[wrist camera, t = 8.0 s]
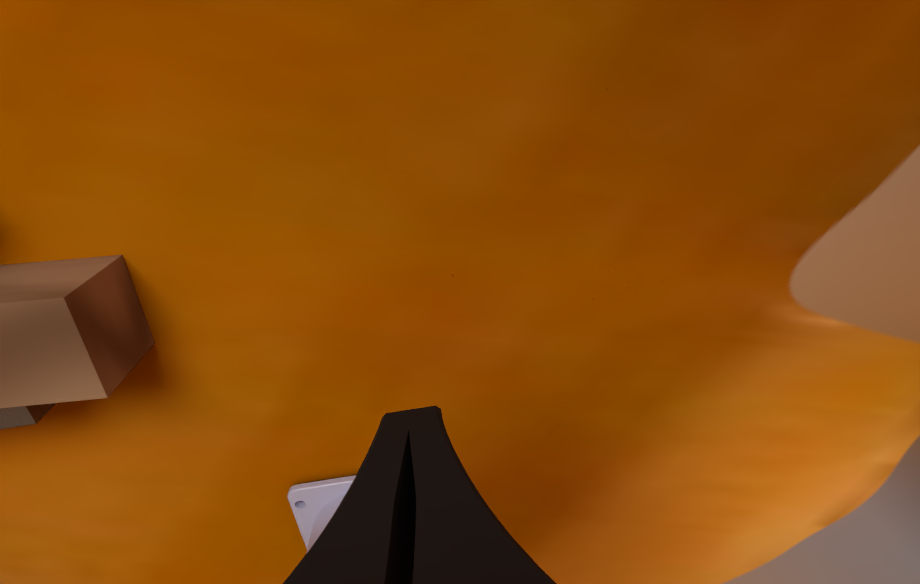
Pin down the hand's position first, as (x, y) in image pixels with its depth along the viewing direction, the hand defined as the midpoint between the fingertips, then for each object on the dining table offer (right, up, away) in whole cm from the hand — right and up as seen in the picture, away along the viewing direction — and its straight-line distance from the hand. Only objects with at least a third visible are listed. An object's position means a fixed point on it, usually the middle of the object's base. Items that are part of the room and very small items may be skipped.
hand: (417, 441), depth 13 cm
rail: (-17, +3, +8) cm, 19 cm away
